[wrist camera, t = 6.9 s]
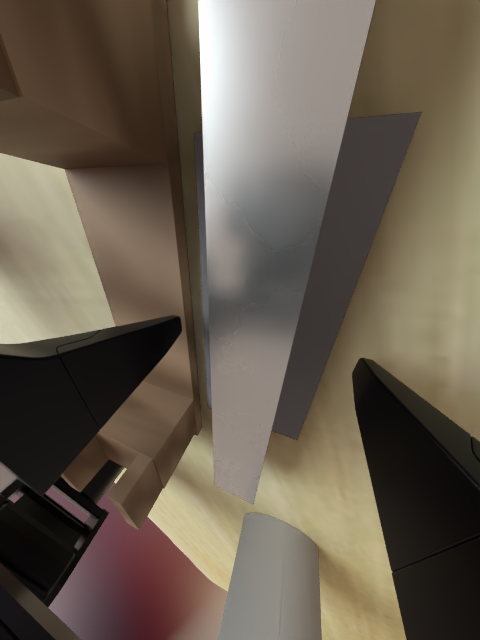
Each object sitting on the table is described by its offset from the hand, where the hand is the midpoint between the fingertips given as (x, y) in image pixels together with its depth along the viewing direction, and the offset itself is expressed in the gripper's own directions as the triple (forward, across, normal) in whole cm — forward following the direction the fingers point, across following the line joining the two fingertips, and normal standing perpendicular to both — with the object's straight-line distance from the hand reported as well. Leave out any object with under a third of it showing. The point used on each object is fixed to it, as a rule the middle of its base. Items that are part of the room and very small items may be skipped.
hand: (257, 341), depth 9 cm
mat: (+1, 0, 0) cm, 1 cm away
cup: (+2, -6, +29) cm, 30 cm away
